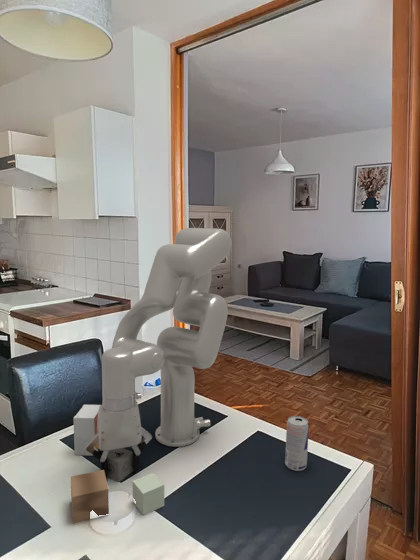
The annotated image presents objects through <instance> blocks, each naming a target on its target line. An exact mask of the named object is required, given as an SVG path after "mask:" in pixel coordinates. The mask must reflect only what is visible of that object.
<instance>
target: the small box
mask: <svg viewBox="0 0 420 560" xmlns="http://www.w3.org/2000/svg"><path fill="white" fill-rule="evenodd" d="M101 405H102V404H83V405H82V407H81V408H80V409H79V411H78V412H77V413H76V415H74V416H73V419H72V420H73V421H72V422H73V441H74V442H73V444H74V445H73V447H74V456H87V457H88V456H91V457H94V456H93V454H91V453H90V452H88V451H87V450H86V445H87V444H88V443H89V441H90V440H91V439H92V438H93V437H94V436H95V435H96V434H97V420H98V411H99V407H100V406H101ZM94 447H95V448H97V449H99V445H98V443H97V444H96V445H95V446H94ZM99 450H100V449H99Z"/></svg>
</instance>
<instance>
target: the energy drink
mask: <svg viewBox="0 0 420 560" xmlns="http://www.w3.org/2000/svg"><path fill="white" fill-rule="evenodd" d="M309 426H310V425H309V421H308V419H307V418H305V417H303V416H300V415H299V416H298V415H293V416H292V415H291V416H289V417H288V418H287V421H286V433H285V434H286V436H285V437H286V438H285V454H284V455H285V458H284V459H285V460H284V464H285V466H286V467H287V468H288V469H289V470H290V471H295V472H302V471H304V470H305V469H306V468H307V467H308V451H309V450H308V447H309V432H310V431H309V429H310V427H309Z"/></svg>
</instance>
